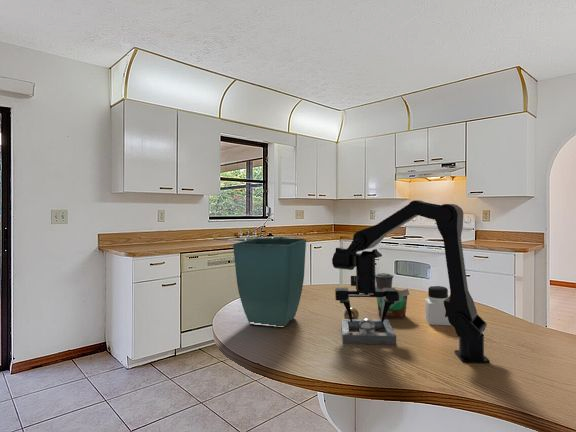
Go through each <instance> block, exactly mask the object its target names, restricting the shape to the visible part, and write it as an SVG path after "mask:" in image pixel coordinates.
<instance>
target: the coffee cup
mask: <svg viewBox="0 0 576 432" xmlns="http://www.w3.org/2000/svg"><path fill="white" fill-rule="evenodd" d="M393 278H394V275H392V274H390V273H385V272H384V273H377V274H375V279H376V287H377V288H378V289H383V288H393Z"/></svg>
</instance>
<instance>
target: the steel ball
mask: <svg viewBox="0 0 576 432" xmlns="http://www.w3.org/2000/svg"><path fill="white" fill-rule="evenodd" d="M358 330H359V333H375V331H376V329H375V324H374V322H373V321H372V320H371V318H367V317H366V318H362V320H361V321H360V323H359V329H358Z"/></svg>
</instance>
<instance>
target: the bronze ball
mask: <svg viewBox="0 0 576 432" xmlns="http://www.w3.org/2000/svg"><path fill="white" fill-rule="evenodd" d="M351 313H352V319H359V316H360V313H359V311H358V310H357V308H354V307H351ZM343 319H350V318H349V315H348V312H347V310H346V309H345V310H344V312H343Z"/></svg>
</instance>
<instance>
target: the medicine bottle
mask: <svg viewBox="0 0 576 432" xmlns="http://www.w3.org/2000/svg"><path fill="white" fill-rule="evenodd" d="M427 295H428V298H425V300H424V303H425V304H424V305H425V307H424V309H425V311H424V312H425V313H424V314H425V318H424V319H425V320H426V321H427V324H428V325H430V326H446V327H447V326H449V327H450V326H452V325H451V324H450V323H449V321H448V316H447V317H445V314H446V310H445V307H444V302H443V301H444V300H446V299H447V298H448V297H449V289H448V288H447V287H446V286H443V285H431V286H429V287H428V294H427ZM452 327H453V326H452Z"/></svg>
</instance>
